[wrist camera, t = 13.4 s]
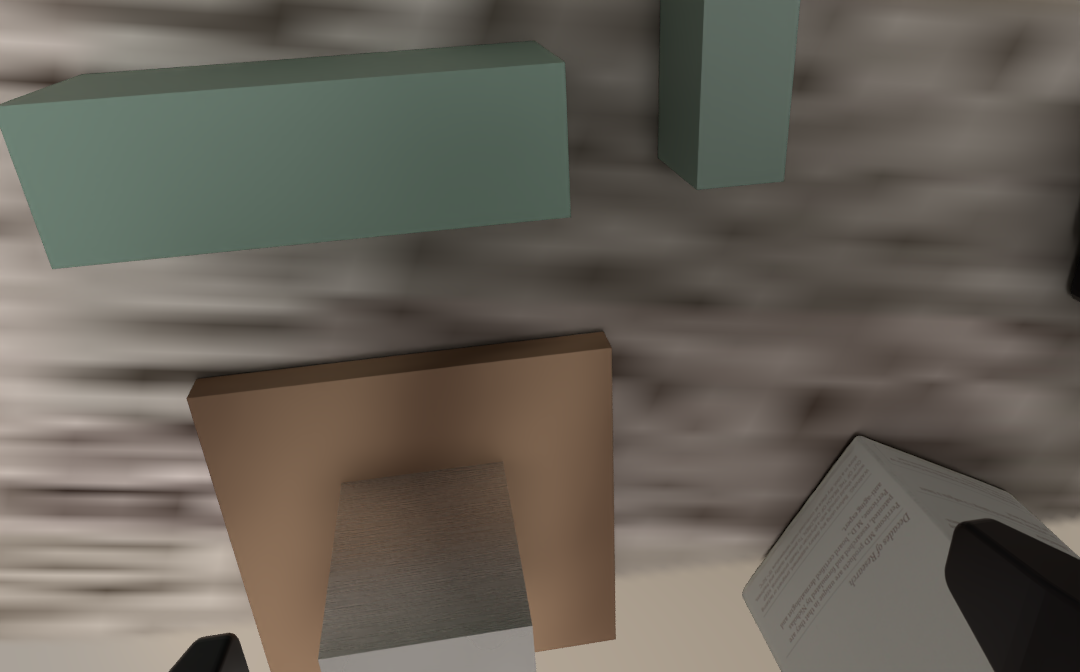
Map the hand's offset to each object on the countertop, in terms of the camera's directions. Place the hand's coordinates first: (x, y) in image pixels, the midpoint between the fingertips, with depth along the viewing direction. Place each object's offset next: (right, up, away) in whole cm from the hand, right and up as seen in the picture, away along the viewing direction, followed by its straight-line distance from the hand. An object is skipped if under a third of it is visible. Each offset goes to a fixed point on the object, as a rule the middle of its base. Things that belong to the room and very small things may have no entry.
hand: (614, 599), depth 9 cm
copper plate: (-4, -2, +14) cm, 15 cm away
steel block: (-4, -3, +13) cm, 14 cm away
